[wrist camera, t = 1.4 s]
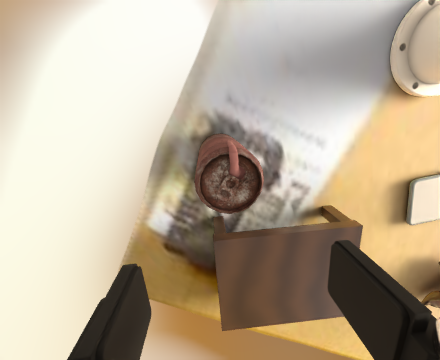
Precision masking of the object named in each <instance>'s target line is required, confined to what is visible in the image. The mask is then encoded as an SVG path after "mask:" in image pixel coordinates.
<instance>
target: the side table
mask: <svg viewBox="0 0 440 360" xmlns="http://www.w3.org/2000/svg"><path fill="white" fill-rule="evenodd" d="M321 215H322V216H323V217H324V218H325V219H327V220H328V221H329V222H330V223H322V224H312V225H302V226H292V227H282V228H272V229H262V230H252V231H243V232H233V233H226V230H225V224H224V218H223V216H219V217H213V220H214V234H213V241H214V252H215V262H216V273H217V283H218V293H219V304H220V314H221V324H222V331H227V330H235V329H244V328H252V327H261V326H269V325H277V324H286V323H294V322H303V321H311V320H319V319H328V318H336V317H344V315H343V314H342V312H341V311H340V309H339V308H338V306H337V305H336V303H335V302H334V301H333V299H332V298H331V296H330V295H329V292H328V287H327V286H328V276H329V265H330V254H331V246H332V244H334V242H335V241H339V240H349V241H351V242H352V243H353V244H354V245H355V246H357V247H358V248H360V241H361V235H362V228H363V226H362V225H361V224H360V223H358V222H357V221H355V220H351V219H349V218H348V217H346V216H345V215H344V214H342V213H341V212H339V211H338V210H337V209H335V208H334V207H333V206H322V214H321Z"/></svg>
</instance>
